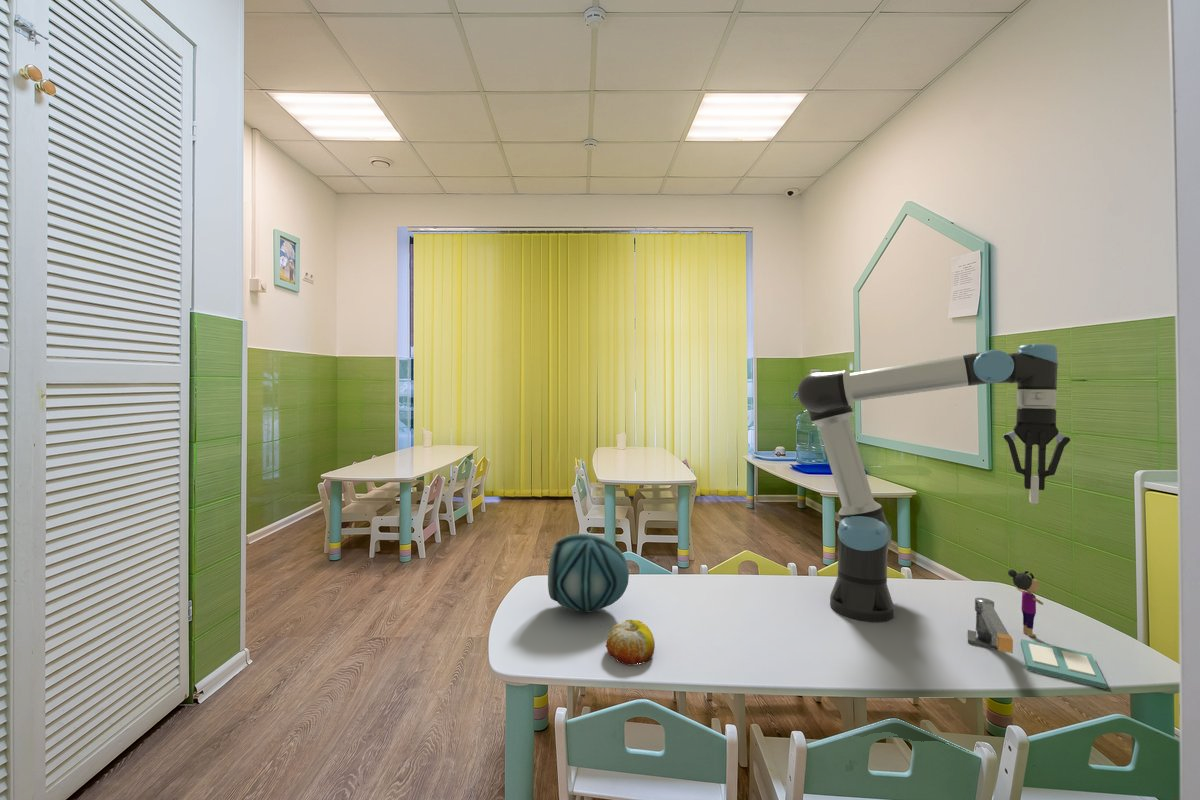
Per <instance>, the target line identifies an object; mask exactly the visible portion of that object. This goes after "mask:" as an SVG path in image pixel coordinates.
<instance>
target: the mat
mask: <svg viewBox="0 0 1200 800" xmlns="http://www.w3.org/2000/svg"><path fill="white" fill-rule="evenodd" d="M1020 646H1021V649H1022V650H1021V651H1022V655H1023V658H1024V659H1023V660H1024V661H1025V662H1024V663H1025V666H1026V670H1027V671H1030V672H1035V673H1039V674H1042V675H1047V676H1051V677H1056V678H1058V679H1063V680H1068V681H1070V682H1071V681H1072V682H1075V683H1081V684H1085V685H1088V686H1093V687H1096V688H1101V689H1104V690H1106V689H1107V682H1106V681H1105V678H1104V676H1103V674H1102V672H1101V671H1100V668H1099V667H1098V665H1097V662H1096V660H1095V658H1094V656H1093V655H1092V653H1087V652H1082V651H1078V650H1074V649H1070V648H1069V649H1068V648H1065V647H1060V646H1056V645H1051V644H1047V643H1042V642H1037V641H1032V640H1028V639H1024V638H1020Z"/></svg>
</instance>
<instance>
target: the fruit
mask: <svg viewBox="0 0 1200 800" xmlns="http://www.w3.org/2000/svg"><path fill="white" fill-rule="evenodd" d="M605 643H606V644H605V647H606V650H607V653H608V654H609V656H610V657H611V656H612V657H614V659H615V660H616V659H617V660H618V661H620V662H619V663H622V662H623V664H624V663H625V665H628V664H637V663H638V664H639V663H642V664H644V663H643V662H645V663H647V662H649V661H650V660H652V657H653V656H654V654H655V649H656V646H655V645H656V644H655V639H654V635H653V632H652V631H651V629H650V628H649V626H648V625H646V624H645V623H643V621H641V620H638V619H626V620H625V621H623V622H621V623H617V624H614V625H613V626H612V627H611V629H610V631H609V634H608V636H607V638H606V642H605ZM612 657H611V658H612ZM617 660H616V661H617ZM618 661H617V662H618Z"/></svg>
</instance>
